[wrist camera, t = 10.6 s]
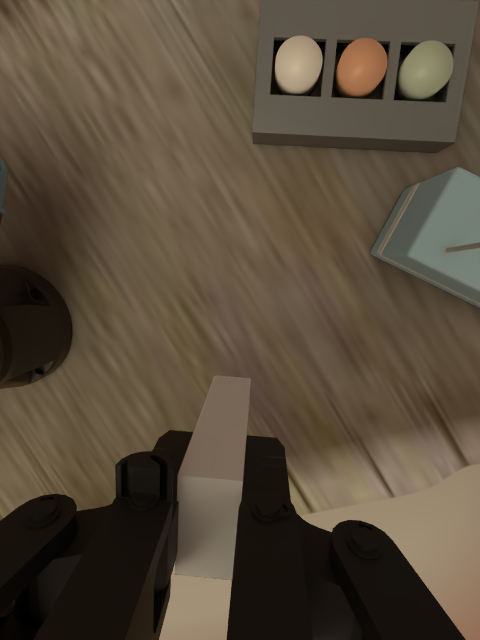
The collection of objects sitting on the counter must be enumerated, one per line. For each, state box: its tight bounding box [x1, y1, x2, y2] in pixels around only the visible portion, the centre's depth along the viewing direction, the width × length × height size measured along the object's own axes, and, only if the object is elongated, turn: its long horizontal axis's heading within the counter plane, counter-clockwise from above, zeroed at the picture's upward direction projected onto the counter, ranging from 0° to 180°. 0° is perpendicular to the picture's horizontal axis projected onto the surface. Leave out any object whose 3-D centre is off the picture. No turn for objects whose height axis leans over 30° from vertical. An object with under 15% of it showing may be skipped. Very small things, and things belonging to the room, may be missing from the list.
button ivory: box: [274, 36, 322, 96], centre depth 35 cm, size 4×4×2 cm
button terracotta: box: [334, 38, 387, 99], centre depth 35 cm, size 4×4×2 cm
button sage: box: [395, 40, 453, 102], centre depth 34 cm, size 4×4×2 cm
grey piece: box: [252, 0, 479, 153], centre depth 36 cm, size 20×12×4 cm, turn 87°
